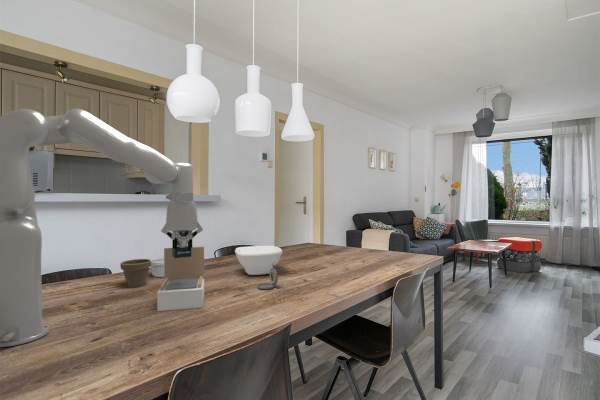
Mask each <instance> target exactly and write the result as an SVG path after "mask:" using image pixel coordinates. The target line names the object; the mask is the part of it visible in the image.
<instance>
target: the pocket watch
mask: <svg viewBox="0 0 600 400" xmlns="http://www.w3.org/2000/svg"><path fill="white" fill-rule="evenodd" d="M273 263H275V262H273ZM273 263H272V267H273V268H271V270H270V273H269V275H268V276H269V280H270V281H269V282H270V283H266V282H264V283H258V284H257V286H256V287H257V288H258V289H259V290H270V289H273V288H274V287H275V285H276V284H278V281H279V276H278V272H277V269H276V268H275V266H276V264H275V265H274V264H273Z"/></svg>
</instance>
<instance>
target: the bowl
mask: <svg viewBox="0 0 600 400" xmlns="http://www.w3.org/2000/svg"><path fill="white" fill-rule="evenodd" d="M283 252H284V251H283V249H282V248H281V247H278V246H276V245H252V246H251V245H250V246H240V247H237V248H235V250H234V253H235V256H236V257H237V260H238V262H239V264H240V265H242V267H243V269H244V271H245V273H246V274H247V275H249V276H250V275H251V276H255V275H256V276H257V275H259V276H261V275H266V274H267V275H268V274H269V273H270V270H271V268H273V267H272V263H273V262H275V263H273V264H274V265H275V266H276V265H277V264H278V263H279V261H280V259H281V256H282V254H283Z"/></svg>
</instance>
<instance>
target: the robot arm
mask: <svg viewBox="0 0 600 400" xmlns="http://www.w3.org/2000/svg"><path fill="white" fill-rule="evenodd" d="M79 142H80V143H82V144H84V145H86V146H87V147H90V148H91V149H92V150H94V151H96V152H98V153H100V154H101V155H103V156H104V157H106V158H108V159H110V160H112V161H115V162H118V163H123V164H127V165H130V166H132V167H134V168H137V169H139V170H141V171H142V172H143V175H144V177H145V179H146V180H147V181H148V182H149V183H151V184H155V185H160V184H162V185H163V184H168V183H169V184H170V193H169V194H166V195H165V199H166V200H169V202H168V203H167V206H166V207H167V208H166V219H165V222H166V223H165V224H164V225H163V226H162V229H161V230H160V231H161V233H163V234H164V235H166V236H167V237H168V238H170V239H171V241H172V244H171V245H172V247H171V248H173V249H176V248H177V247H178V243H177V237H176V231H177V230H179V231H191V232H192V234H191V235H190V238H189V241H188V243H187V246H188V251H190V248H192V247H193V239H194V238H195V237H196V236H197V235H198V234H199V233H201V232H202V231H204V230H203V227H202V225H201V224H200V223H199V221H198V212H197V211H198V209H197V205H196V201H194V167H193V165H192V164H191V163H188V162H173V161H172V160H171V159H169V158H168V157H166V156H165V155H163V154H162V153H160V152H159V151H157V150H155V149H154V148H152V147H150V146H148V145H145V144H143V143H141V142H140V141H137V140H135V139H133V138H130V137H128V136H127V135H126V134H124V133H121V132H120V131H119V130H117V129H115V128H114V127H112V126H111V125H109V124H107V123H106V122H104V121H103V120H102V119H100V118H99V117H97V116H94V115H93V114H92V113H90V112H88V111H86V110H84V109H81V108H73V109H70V110H68V111H66V112H65V113H64V114H61V115H52V116H50V115H48V116H45V115H44V114H42V113H40V112H39V111H36V110H34V109H30V108H21V109H20V108H19V109H15V110H13V111H9V112H8V113H4V115H1V116H0V348H5V347H6V348H7V347H14V346H18V345H22V344H26V343H30V342H33V341H36V340H39V339H40V338H42V337H44V336H45V335H47V334H48V333H49V332H50V326H49V325H48V324H45V323H43V299H42V298H43V296H42V295H43V293H42V291H43V289H42V285H43V284H42V281H43V280H42V277H43V276H42V247H43V245H42V244H43V242H42V241H43V236H42V231H41V229H40V227H39V225H38V218H37V211H36V202H35V198H36V197H35V196H36V191H35V189H34V186H33V181H32V174H31V168H30V166H31V165H30V158H29V157H30V155H29V153H30V148H31V147H33V148H34V147H45V146H53V145H54V146H56V145H65V144H72V143H79Z"/></svg>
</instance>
